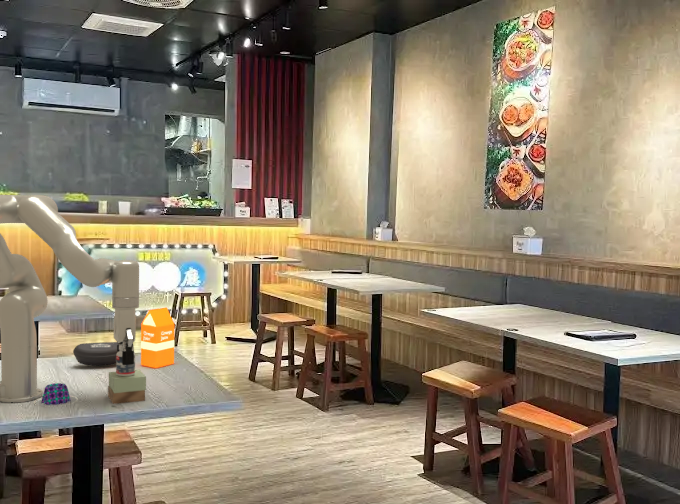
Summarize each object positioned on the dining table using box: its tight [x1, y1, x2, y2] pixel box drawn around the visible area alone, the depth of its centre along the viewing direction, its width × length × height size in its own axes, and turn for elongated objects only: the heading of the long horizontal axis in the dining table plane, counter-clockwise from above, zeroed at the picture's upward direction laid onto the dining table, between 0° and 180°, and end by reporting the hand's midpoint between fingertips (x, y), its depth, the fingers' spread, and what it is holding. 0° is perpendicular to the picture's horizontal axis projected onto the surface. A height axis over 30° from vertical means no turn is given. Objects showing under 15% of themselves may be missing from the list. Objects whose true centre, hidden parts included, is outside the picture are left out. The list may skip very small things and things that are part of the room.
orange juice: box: [140, 307, 175, 369], centre depth 254 cm, size 8×9×20 cm
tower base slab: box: [107, 385, 146, 405], centre depth 210 cm, size 9×9×4 cm
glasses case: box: [72, 341, 119, 367], centre depth 253 cm, size 18×10×8 cm, turn 111°
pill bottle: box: [115, 344, 136, 376], centre depth 209 cm, size 5×5×9 cm
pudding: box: [33, 382, 79, 408], centre depth 206 cm, size 12×12×5 cm
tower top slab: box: [108, 369, 147, 393], centre depth 210 cm, size 9×9×4 cm
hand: (125, 360), depth 210 cm, fingers open, 8 cm apart
